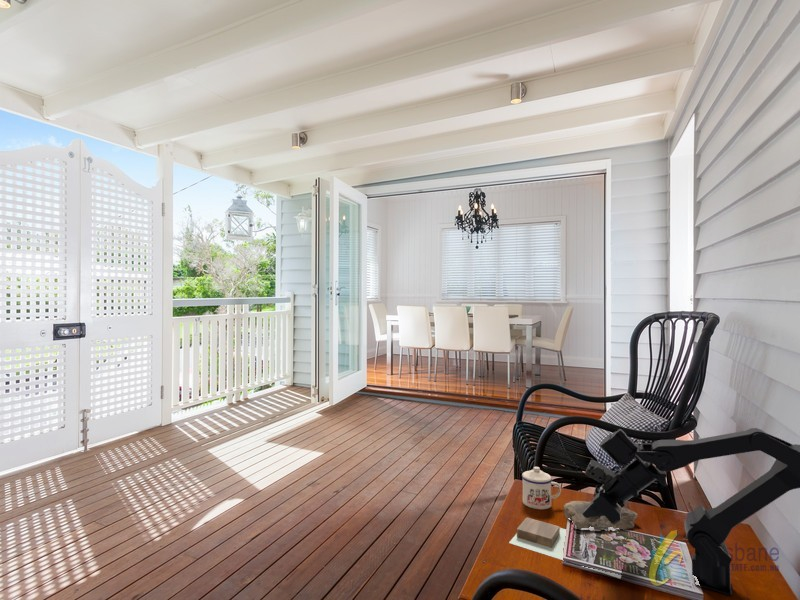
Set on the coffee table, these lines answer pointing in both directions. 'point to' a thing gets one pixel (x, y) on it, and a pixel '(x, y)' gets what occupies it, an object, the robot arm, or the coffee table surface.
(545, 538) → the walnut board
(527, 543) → the sage mat
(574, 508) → the grey rock
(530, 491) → the teacup with lid
